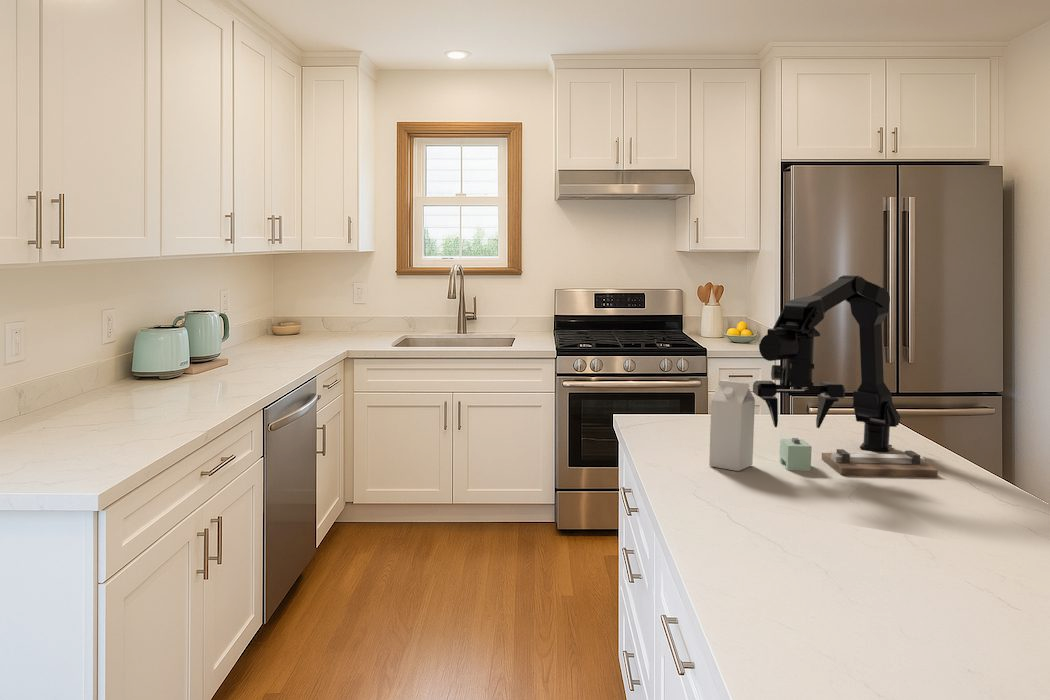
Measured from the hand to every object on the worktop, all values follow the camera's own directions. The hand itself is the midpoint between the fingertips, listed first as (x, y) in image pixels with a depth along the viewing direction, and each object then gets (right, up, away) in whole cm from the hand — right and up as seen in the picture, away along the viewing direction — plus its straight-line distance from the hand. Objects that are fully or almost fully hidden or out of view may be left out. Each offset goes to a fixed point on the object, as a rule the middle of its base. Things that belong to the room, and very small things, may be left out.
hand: (796, 427), depth 179 cm
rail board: (+18, -9, 0) cm, 20 cm away
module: (0, -9, +1) cm, 9 cm away
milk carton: (-14, -9, +1) cm, 17 cm away
